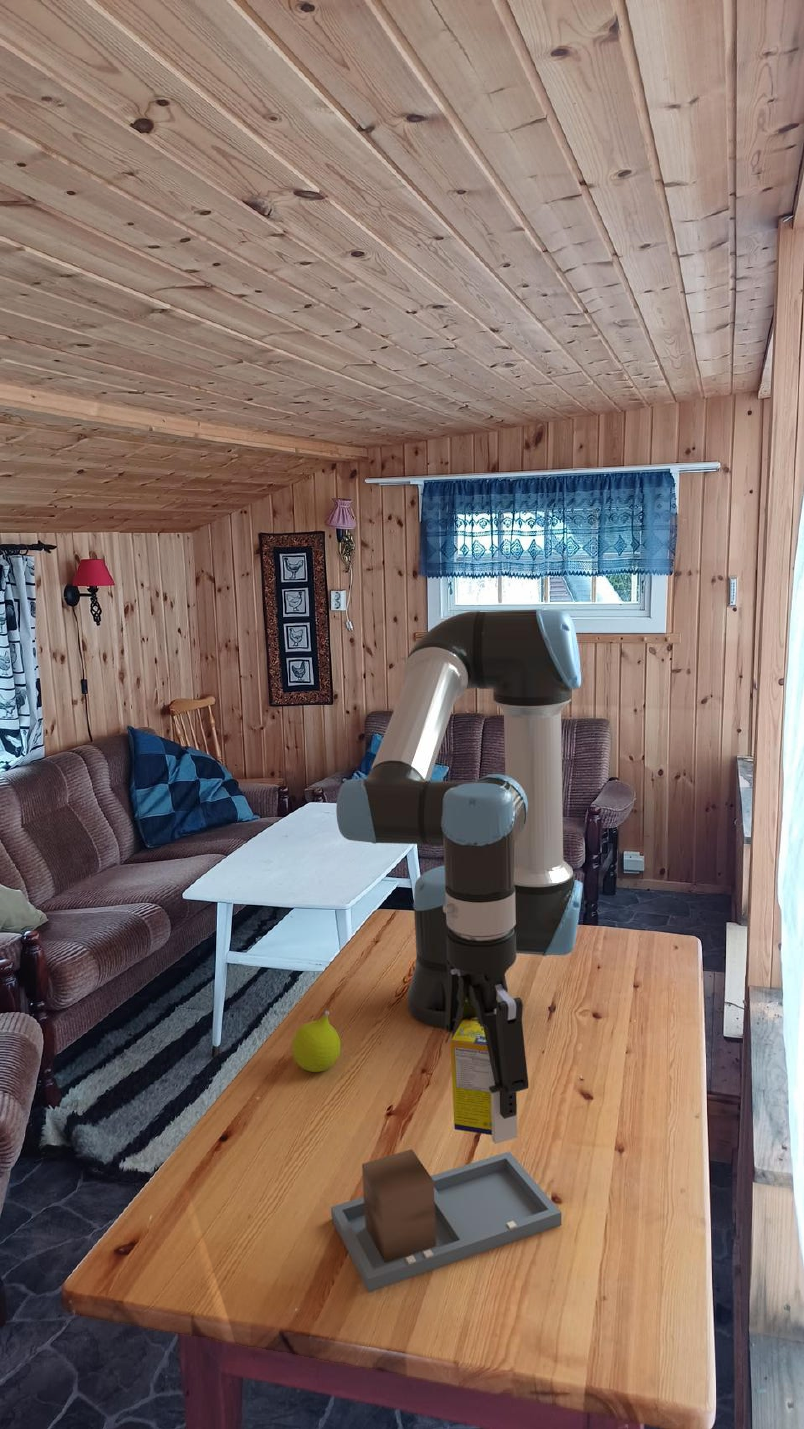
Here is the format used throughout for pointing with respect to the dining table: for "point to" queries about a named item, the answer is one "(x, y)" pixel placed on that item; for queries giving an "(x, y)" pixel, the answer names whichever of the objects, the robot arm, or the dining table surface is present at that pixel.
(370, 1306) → the dining table surface
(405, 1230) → the walnut block
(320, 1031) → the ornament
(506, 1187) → the slot tray
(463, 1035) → the supplement box
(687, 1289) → the dining table surface
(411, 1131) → the dining table surface
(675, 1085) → the dining table surface
